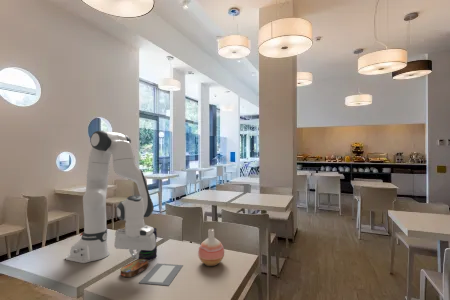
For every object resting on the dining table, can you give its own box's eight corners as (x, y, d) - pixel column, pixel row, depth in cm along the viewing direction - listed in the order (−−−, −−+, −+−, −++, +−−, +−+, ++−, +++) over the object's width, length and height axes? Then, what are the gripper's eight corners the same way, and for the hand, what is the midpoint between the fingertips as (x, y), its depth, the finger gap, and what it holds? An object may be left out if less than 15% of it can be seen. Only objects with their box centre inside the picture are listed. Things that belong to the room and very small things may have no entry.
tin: (129, 273, 112) (116, 268, 115) (129, 280, 112) (116, 275, 115) (152, 260, 125) (140, 256, 129) (151, 266, 125) (139, 262, 129)
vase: (229, 261, 130) (228, 228, 130) (216, 272, 118) (215, 235, 118) (207, 256, 136) (207, 224, 137) (193, 266, 124) (192, 231, 125)
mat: (138, 283, 108) (138, 282, 108) (157, 263, 127) (157, 263, 127) (168, 285, 106) (168, 285, 106) (182, 265, 125) (182, 265, 125)
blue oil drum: (156, 252, 142) (156, 226, 142) (157, 259, 133) (157, 231, 133) (138, 254, 139) (138, 228, 139) (137, 261, 130) (137, 233, 130)
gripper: (111, 230, 118) (111, 259, 117) (151, 232, 114) (151, 262, 114) (119, 226, 124) (119, 254, 124) (157, 228, 121) (157, 256, 121)
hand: (135, 257), depth 119 cm, fingers closed
